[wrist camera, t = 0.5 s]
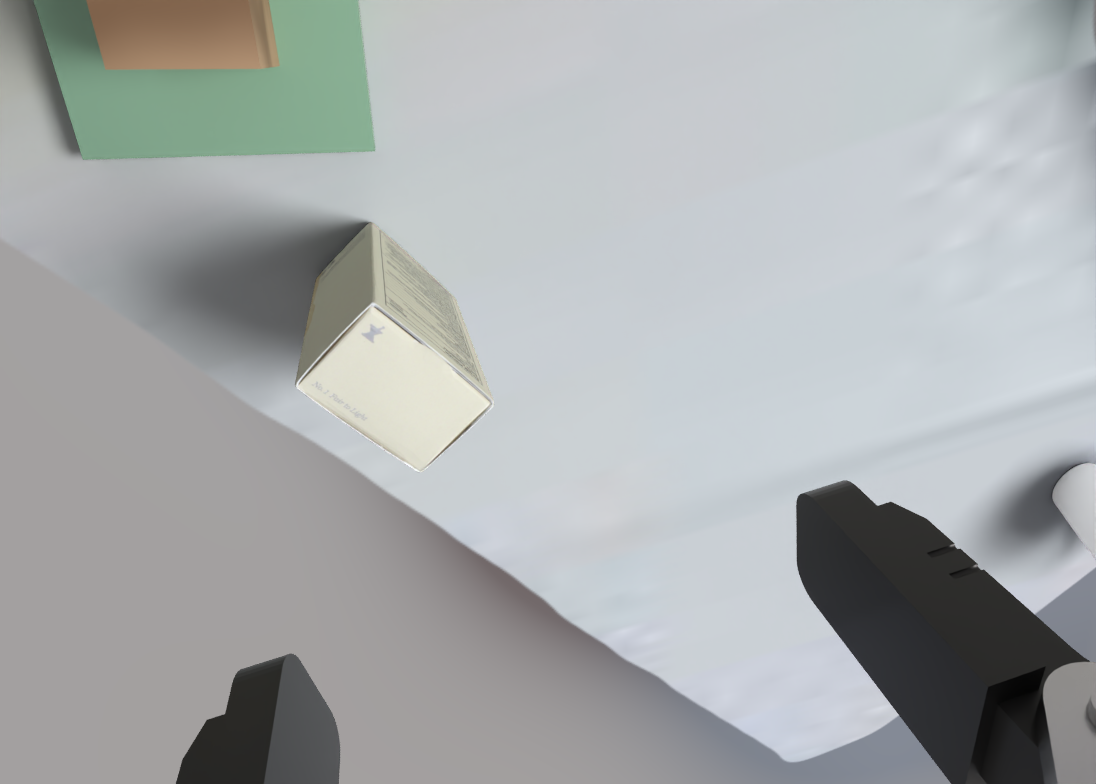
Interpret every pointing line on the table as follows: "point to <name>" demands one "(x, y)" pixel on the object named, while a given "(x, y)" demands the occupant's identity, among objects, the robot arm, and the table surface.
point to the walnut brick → (184, 34)
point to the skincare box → (391, 352)
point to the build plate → (219, 90)
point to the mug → (1079, 502)
